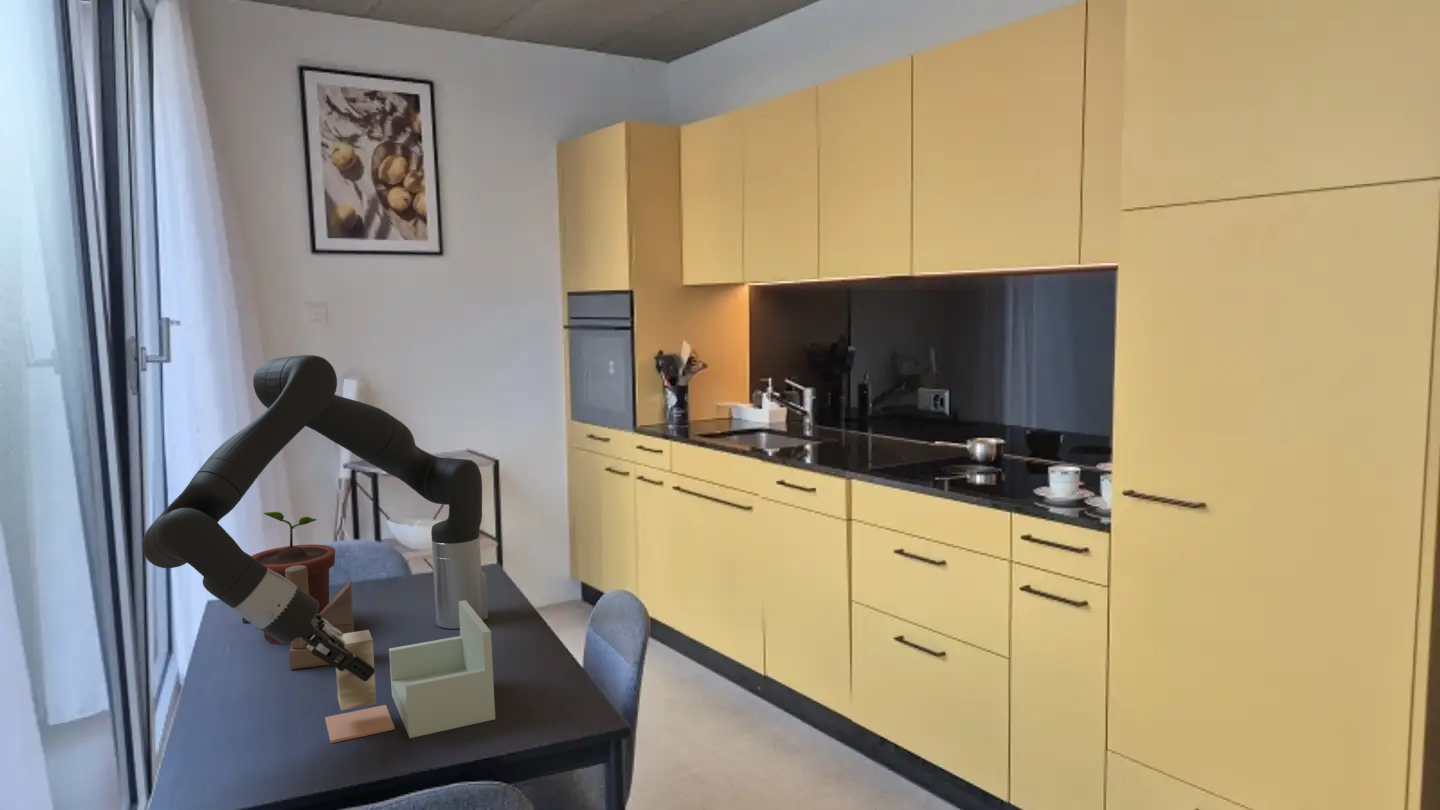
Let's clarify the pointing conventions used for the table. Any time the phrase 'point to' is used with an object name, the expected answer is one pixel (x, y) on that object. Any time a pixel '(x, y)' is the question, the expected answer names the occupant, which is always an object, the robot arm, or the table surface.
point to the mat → (359, 723)
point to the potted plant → (307, 555)
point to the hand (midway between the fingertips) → (367, 669)
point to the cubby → (445, 679)
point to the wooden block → (334, 613)
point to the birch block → (348, 684)
